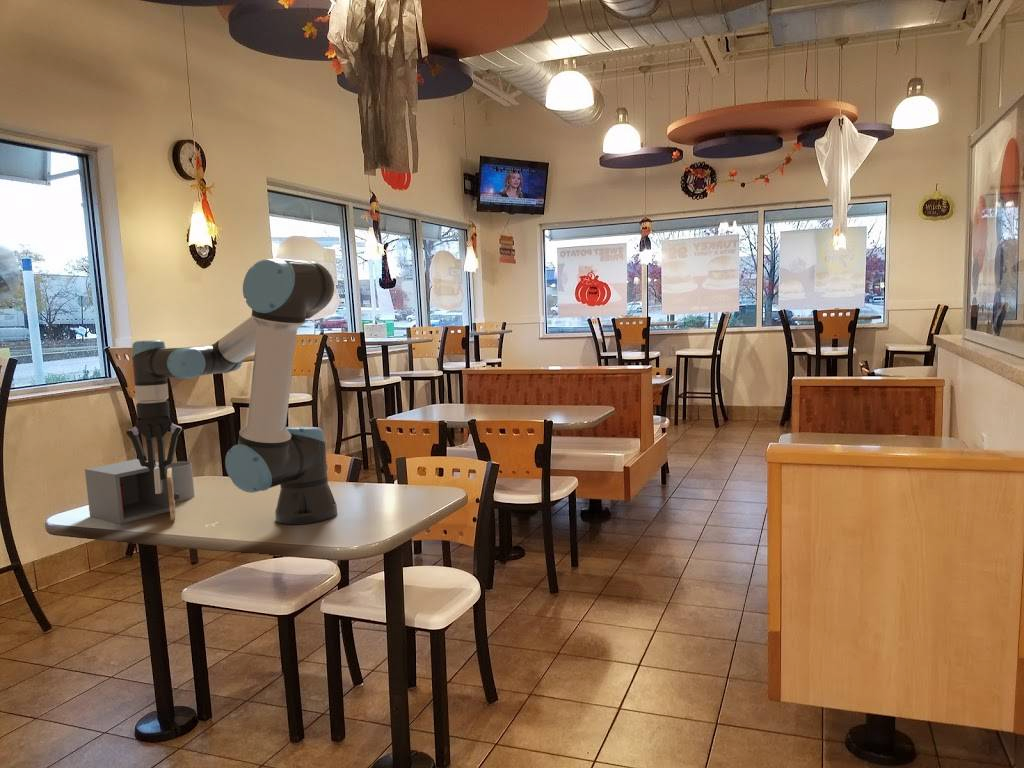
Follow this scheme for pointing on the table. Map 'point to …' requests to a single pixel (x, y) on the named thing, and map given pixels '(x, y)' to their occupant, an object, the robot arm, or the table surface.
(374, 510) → the table surface
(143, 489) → the grey open box
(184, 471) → the cup
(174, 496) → the wooden cabinet door
